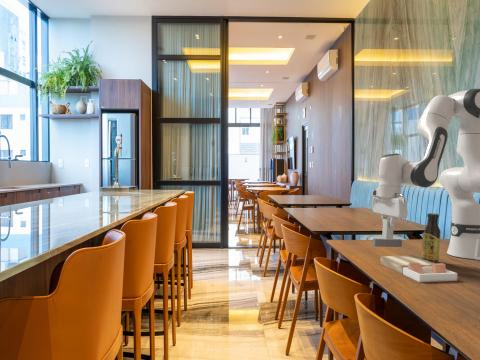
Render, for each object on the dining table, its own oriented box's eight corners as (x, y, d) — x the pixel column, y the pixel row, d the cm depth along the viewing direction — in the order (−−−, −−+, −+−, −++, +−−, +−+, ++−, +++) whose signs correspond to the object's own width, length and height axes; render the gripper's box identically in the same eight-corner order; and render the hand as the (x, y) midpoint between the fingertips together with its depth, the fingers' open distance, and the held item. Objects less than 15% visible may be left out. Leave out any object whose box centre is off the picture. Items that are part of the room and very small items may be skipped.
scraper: (398, 245, 151) (399, 219, 151) (402, 247, 148) (404, 220, 148) (371, 245, 149) (373, 218, 149) (375, 246, 146) (377, 219, 146)
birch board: (412, 262, 144) (412, 255, 144) (437, 272, 130) (437, 264, 130) (380, 263, 142) (380, 256, 142) (401, 274, 128) (402, 265, 128)
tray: (438, 273, 130) (438, 266, 130) (457, 280, 121) (457, 273, 121) (402, 274, 127) (403, 267, 127) (419, 282, 118) (419, 274, 118)
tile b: (417, 265, 128) (419, 262, 127) (422, 275, 125) (424, 273, 124) (407, 265, 127) (409, 263, 126) (412, 275, 125) (414, 273, 124)
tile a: (442, 263, 126) (445, 264, 125) (442, 274, 126) (445, 275, 125) (432, 263, 126) (435, 264, 124) (432, 275, 126) (435, 276, 124)
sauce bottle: (418, 261, 147) (419, 212, 146) (428, 259, 149) (430, 212, 149) (432, 265, 141) (433, 214, 140) (443, 263, 143) (444, 214, 143)
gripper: (412, 194, 138) (411, 230, 139) (383, 191, 158) (382, 222, 159) (397, 194, 137) (396, 230, 137) (369, 191, 157) (368, 222, 158)
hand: (388, 226), depth 148 cm, fingers closed on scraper, 3 cm apart
